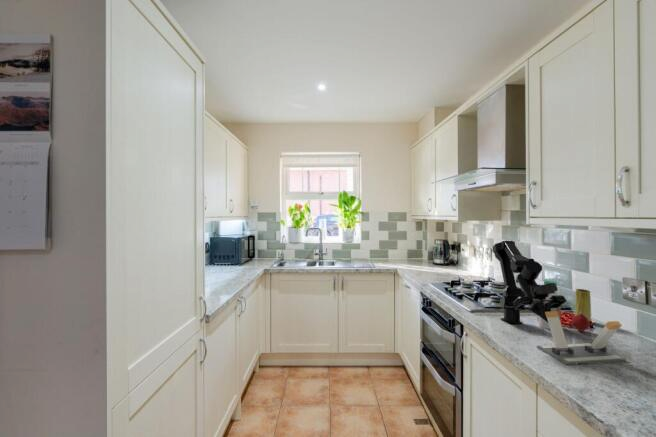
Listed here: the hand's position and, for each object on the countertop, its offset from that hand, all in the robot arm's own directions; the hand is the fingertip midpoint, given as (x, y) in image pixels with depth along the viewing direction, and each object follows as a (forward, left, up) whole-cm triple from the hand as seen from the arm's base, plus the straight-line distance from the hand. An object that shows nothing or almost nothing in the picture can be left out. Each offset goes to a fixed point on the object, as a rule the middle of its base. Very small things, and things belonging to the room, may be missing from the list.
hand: (551, 323), depth 117 cm
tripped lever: (+5, 0, -8) cm, 9 cm away
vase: (-25, +38, -10) cm, 47 cm away
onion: (-14, +26, -10) cm, 31 cm away
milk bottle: (-20, +17, -10) cm, 28 cm away
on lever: (+5, +13, -8) cm, 16 cm away
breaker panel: (+5, +7, -10) cm, 13 cm away
